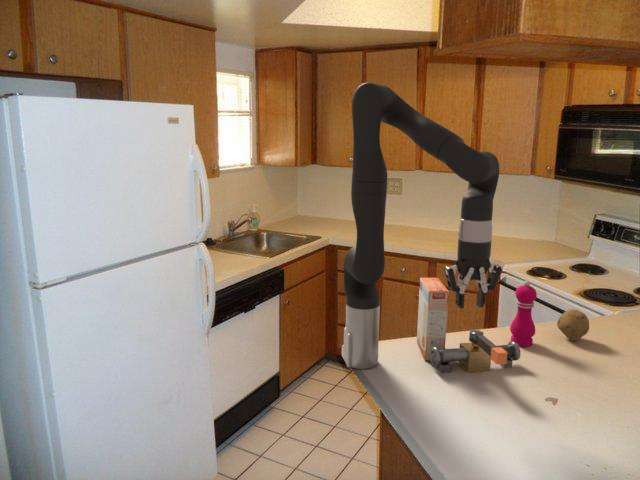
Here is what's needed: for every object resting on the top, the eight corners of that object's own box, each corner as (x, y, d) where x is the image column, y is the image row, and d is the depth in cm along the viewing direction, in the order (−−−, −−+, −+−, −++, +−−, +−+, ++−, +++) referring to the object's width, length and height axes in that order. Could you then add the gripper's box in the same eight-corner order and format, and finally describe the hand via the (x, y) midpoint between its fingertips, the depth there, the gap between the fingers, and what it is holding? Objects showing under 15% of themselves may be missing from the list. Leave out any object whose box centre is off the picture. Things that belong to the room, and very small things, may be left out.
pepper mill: (508, 345, 155) (513, 282, 151) (509, 337, 161) (514, 276, 157) (533, 349, 152) (540, 285, 148) (534, 340, 159) (540, 279, 154)
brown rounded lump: (549, 338, 160) (553, 308, 158) (564, 331, 166) (567, 302, 164) (578, 348, 153) (582, 316, 151) (592, 340, 159) (596, 310, 157)
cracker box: (445, 361, 144) (449, 291, 140) (424, 361, 144) (427, 290, 140) (435, 341, 158) (439, 276, 153) (416, 341, 158) (419, 276, 153)
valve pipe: (437, 375, 136) (438, 349, 134) (428, 365, 142) (430, 340, 140) (519, 368, 140) (522, 343, 138) (508, 359, 146) (510, 335, 144)
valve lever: (466, 339, 141) (467, 329, 140) (478, 338, 141) (479, 328, 140) (494, 364, 125) (495, 353, 125) (508, 363, 126) (509, 352, 125)
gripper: (452, 242, 115) (448, 314, 118) (511, 240, 117) (505, 310, 121) (439, 235, 122) (436, 303, 125) (495, 233, 124) (490, 300, 128)
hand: (470, 306), depth 123 cm, fingers open, 4 cm apart
